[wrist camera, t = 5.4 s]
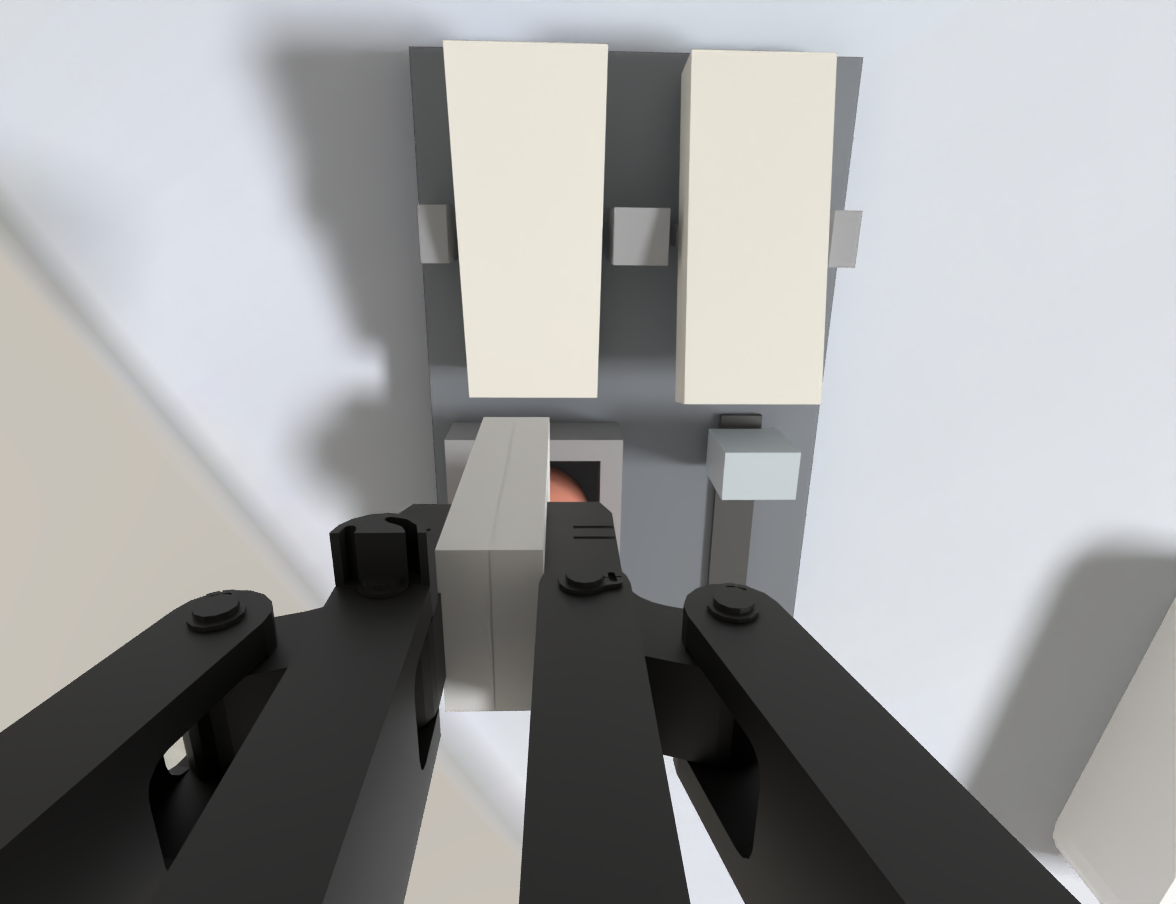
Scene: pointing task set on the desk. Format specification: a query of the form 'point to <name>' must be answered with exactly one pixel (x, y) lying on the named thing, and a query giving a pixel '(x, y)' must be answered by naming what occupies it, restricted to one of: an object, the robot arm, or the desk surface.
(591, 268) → the block
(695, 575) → the panel
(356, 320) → the desk surface
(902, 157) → the desk surface
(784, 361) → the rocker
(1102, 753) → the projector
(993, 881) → the robot arm
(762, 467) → the block
